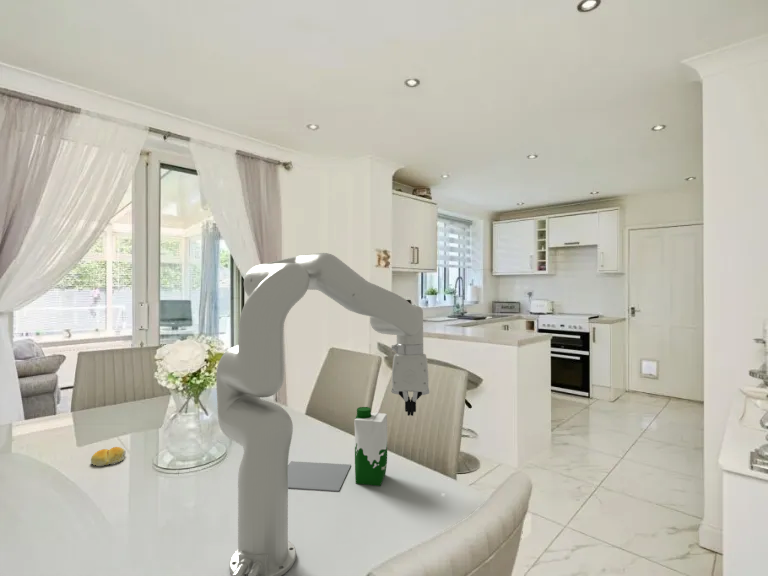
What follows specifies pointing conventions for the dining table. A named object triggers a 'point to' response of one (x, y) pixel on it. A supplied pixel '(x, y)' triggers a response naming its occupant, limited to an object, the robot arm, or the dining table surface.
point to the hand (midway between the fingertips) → (410, 414)
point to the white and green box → (370, 446)
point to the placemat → (316, 476)
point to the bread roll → (108, 456)
